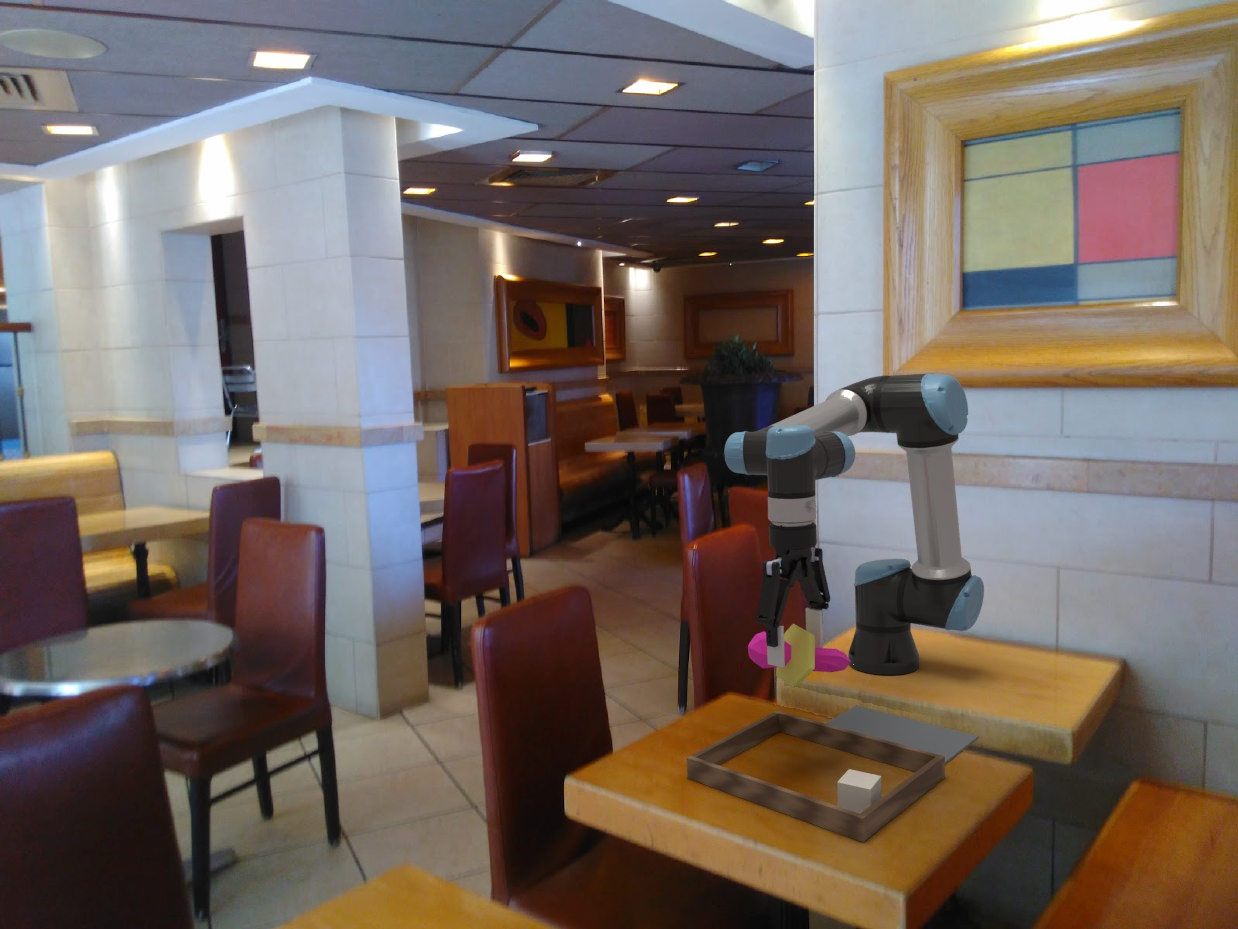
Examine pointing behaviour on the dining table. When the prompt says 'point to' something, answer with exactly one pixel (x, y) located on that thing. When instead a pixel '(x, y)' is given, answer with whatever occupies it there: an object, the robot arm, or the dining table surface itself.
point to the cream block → (858, 790)
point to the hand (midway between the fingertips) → (795, 656)
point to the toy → (798, 656)
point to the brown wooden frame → (807, 808)
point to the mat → (904, 731)
